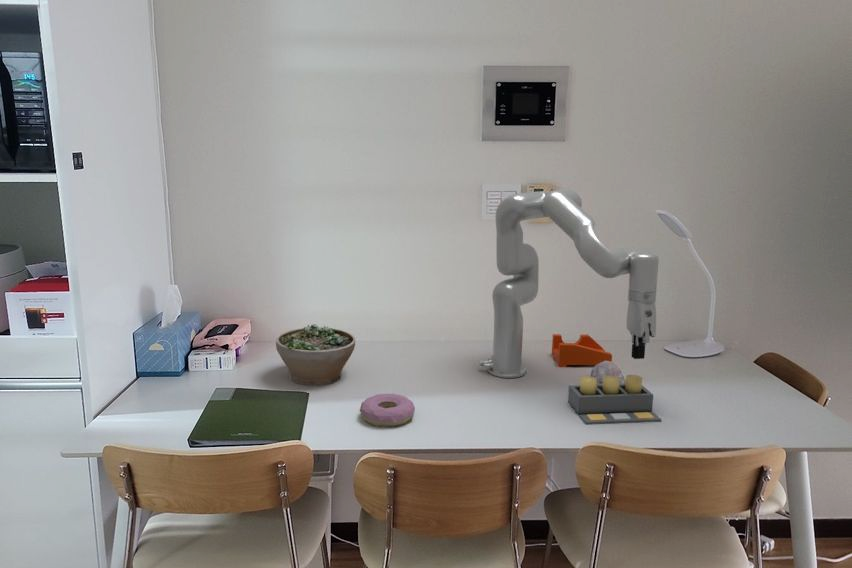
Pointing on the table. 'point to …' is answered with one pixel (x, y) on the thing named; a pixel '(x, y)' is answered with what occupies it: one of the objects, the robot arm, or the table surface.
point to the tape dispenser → (578, 351)
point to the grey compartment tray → (610, 401)
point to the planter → (315, 354)
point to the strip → (619, 418)
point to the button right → (633, 384)
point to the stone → (606, 372)
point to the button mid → (610, 385)
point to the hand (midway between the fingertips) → (637, 357)
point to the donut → (387, 410)
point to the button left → (588, 385)
